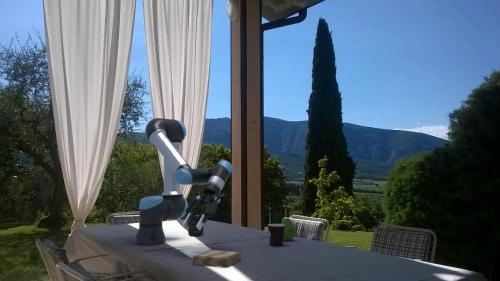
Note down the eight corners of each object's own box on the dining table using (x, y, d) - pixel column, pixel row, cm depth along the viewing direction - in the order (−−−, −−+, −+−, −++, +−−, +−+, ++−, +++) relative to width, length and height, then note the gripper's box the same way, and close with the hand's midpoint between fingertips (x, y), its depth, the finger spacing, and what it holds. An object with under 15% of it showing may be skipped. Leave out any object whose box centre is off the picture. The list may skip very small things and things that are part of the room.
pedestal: (192, 264, 174) (192, 256, 175) (208, 257, 189) (208, 249, 189) (227, 267, 169) (227, 258, 170) (240, 259, 184) (241, 251, 184)
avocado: (277, 239, 234) (277, 217, 235) (290, 238, 237) (290, 216, 238) (284, 242, 227) (284, 219, 227) (297, 241, 230) (297, 218, 230)
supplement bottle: (188, 234, 195) (189, 207, 195) (203, 234, 195) (204, 207, 196) (187, 236, 188) (188, 209, 188) (203, 237, 189) (204, 209, 189)
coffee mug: (283, 247, 213) (283, 226, 213) (266, 246, 214) (266, 225, 215) (286, 243, 224) (286, 223, 225) (270, 242, 226) (270, 222, 226)
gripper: (234, 194, 201) (213, 235, 186) (199, 191, 211) (177, 230, 196) (228, 183, 196) (206, 224, 182) (193, 181, 206) (169, 219, 191)
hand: (191, 227), depth 189 cm, fingers closed on supplement bottle, 7 cm apart
